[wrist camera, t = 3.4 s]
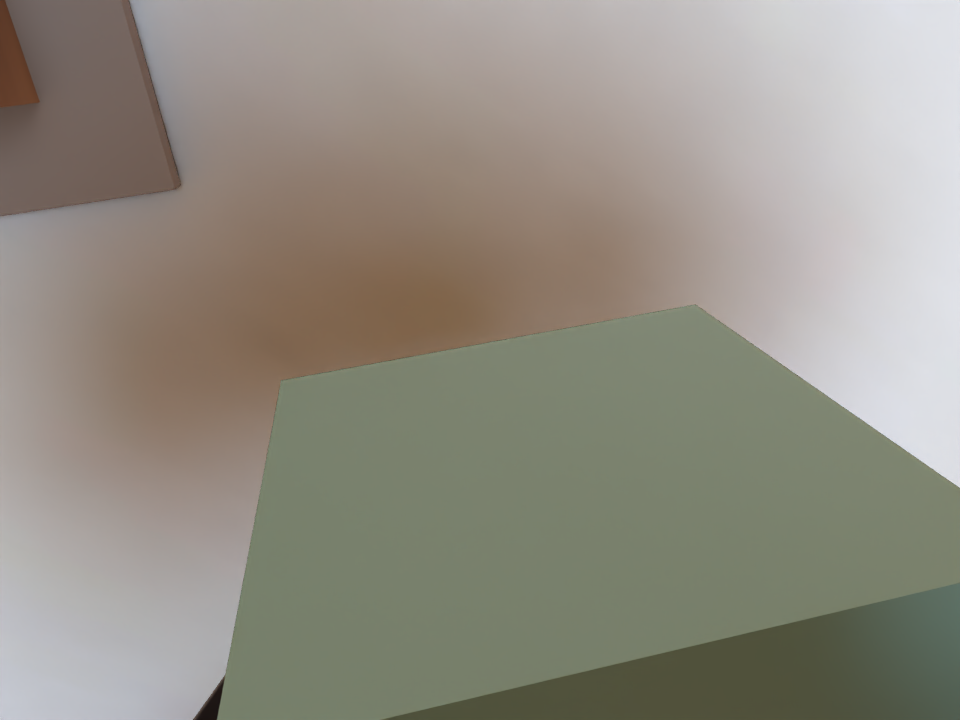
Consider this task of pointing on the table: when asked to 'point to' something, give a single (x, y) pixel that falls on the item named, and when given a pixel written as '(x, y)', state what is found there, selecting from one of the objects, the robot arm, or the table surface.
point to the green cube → (593, 541)
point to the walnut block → (13, 66)
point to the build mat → (81, 110)
